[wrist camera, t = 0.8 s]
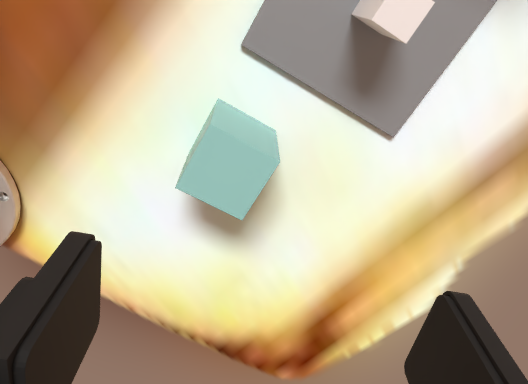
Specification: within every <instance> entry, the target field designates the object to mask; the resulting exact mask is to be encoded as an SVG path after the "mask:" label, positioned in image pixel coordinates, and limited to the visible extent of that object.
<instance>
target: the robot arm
mask: <svg viewBox="0 0 528 384" xmlns="http://www.w3.org/2000/svg"><path fill="white" fill-rule="evenodd" d="M20 209H21V206H20V198H19V193H18V190H17V187H16V184H15V182H14V180H13V178H12V176H11V175H10V173H9V171H8V169H7V168H6V167H5V166H4V164H3V163H2V162H1V161H0V246H1V245H2V244H3V243H4V242H5V241H6V240H7V239H8V238H9V237H10V236H11V235H12V233H13V232H14V230H15V229H16V226H17V224H18V221H19V218H20ZM101 250H102V245H101V242H100V241H95V236H94V235H92V234H86V233H80V232H73V231H71V232H70V233H68V235H67V236H66V237H65V239H64V240H63V241H62V242H61V244H60V245H59V246H58V248H57V249H56V250H55V251H54V253H53V254H52V255H51V257H50V258H49V259H48V261H47V262H46V263H45V264H44V266H43V267H42V268H41V270H40V271H39V272H38V274H37V275H36V276H35V277H34V278H30V277H25V278H22V279H21V280H20V281H19V282H18V283H17V284H16V286H15V287H14V288H13V289H12V290H11V292H10V293H9V294H8V295H7V297H6V298H5V299H4V300H3V302H2V303H1V304H0V384H71V383H72V381H73V379H74V377H75V375H76V373H77V371H78V369H79V366H80V364H81V362H82V360H83V358H84V356H85V354H86V352H87V350H88V348H89V345H90V343H91V341H92V339H93V337H94V335H95V333H96V330H97V327H98V324H99V318H100V285H101ZM404 368H405V375H406V377H407V380H408V383H409V384H528V381H527V379H526V378H525V376H524V375H523V373H522V372H521V370H520V369H519V367H518V366H517V364H516V363H515V361H514V360H513V358H512V357H511V355H510V354H509V352H508V351H507V350H506V348H505V347H504V345H503V344H502V342H501V341H500V339H499V338H498V336H497V335H496V333H495V332H494V330H493V329H492V327H491V326H490V324H489V323H488V322H487V320H486V318H485V317H484V316H483V314H482V313H481V311H480V310H479V308H478V307H477V305H476V304H475V302H474V301H473V299H472V298H471V297H470V296H469V295H468V294H464V293H458V292H452V291H446V292H445V293H443V295H439V296H438V297H437V298H436V300H435V302H434V304H433V306H432V308H431V310H430V312H429V314H428V316H427V318H426V320H425V322H424V324H423V326H422V328H421V330H420V332H419V334H418V336H417V338H416V340H415V343H414V344H413V346H412V348H411V351H410V353H409V355H408V356H407V358H406V361H405V365H404Z"/></svg>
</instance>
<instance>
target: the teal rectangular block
mask: <svg viewBox="0 0 528 384" xmlns="http://www.w3.org/2000/svg"><path fill="white" fill-rule="evenodd" d="M279 163H280V157H279V150H278V143H277V137H276V131H275V130H274V129H272V128H270V127H268V126H267V125H265V124H263V123H261V122H259V121H258V120H256V119H254V118H252V117H251V116H249V115H247V114H245V113H243V112H242V111H240V110H238V109H236V108H235V107H233V106H231V105H229V104H227V103H226V102H224V101H222V100H220V99H219V98H218V100H217V102H216V104H215V106H214V107H213V109H212V111H211V113H210V115H209V117H208V119H207V120H206V122H205V124H204V126H203V128H202V130H201V131H200V133H199V135H198V137H197V139H196V141H195V143H194V144H193V146H192V148H191V150H190V152H189V154H188V157H187V159H186V162H185V164H184V167H183V169H182V172H181V174H180V177H179V179H178V182H177V184H176V187H175V188H177V189H179V190H181V191H183V192H185V193H187V194H189V195H191V196H193V197H195V198H197V199H199V200H201V201H203V202H205V203H207V204H209V205H211V206H213V207H215V208H217V209H219V210H222V211H224V212H226V213H228V214H230V215H232V216H234V217H236V218H238V219H240V220H243V218H244V217H245V215H246V214H247V212H248V211H249V209H250V208H251V206H252V204H253V203H254V201H255V200H256V198H257V197H258V195H259V194H260V192H261V191H262V189H263V187H264V186H265V184H266V183H267V181H268V180H269V178H270V177H271V175H272V174H273V172H274V171H275V169H276V167H277V166H278V164H279Z"/></svg>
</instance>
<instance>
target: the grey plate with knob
mask: <svg viewBox="0 0 528 384" xmlns="http://www.w3.org/2000/svg"><path fill="white" fill-rule="evenodd" d="M496 1H497V0H265V1H264V3H263V4H262V6H261V8H260V10H259V12H258V14H257V16H256V18H255V19H254V21H253V23H252V25H251V27H250V29H249V31H248V33H247V34H246V36H245V38H244V40H243V42H242V44H241V45H242V46H244V47H246V48H247V49H249V50H250V51H252V52H254V53H255V54H257V55H259V56H260V57H262V58H264V59H265V60H267V61H269V62H270V63H272V64H274V65H275V66H277V67H278V68H280V69H282V70H283V71H285V72H287V73H288V74H290V75H292V76H293V77H295V78H297V79H298V80H300V81H301V82H303V83H305V84H306V85H308V86H310V87H311V88H313V89H315V90H316V91H318V92H320V93H321V94H323V95H325V96H326V97H328V98H329V99H331V100H333V101H334V102H336V103H338V104H339V105H341V106H343V107H344V108H346V109H348V110H349V111H351V112H353V113H354V114H356V115H357V116H359V117H361V118H362V119H364V120H366V121H367V122H369V123H371V124H372V125H374V126H376V127H377V128H379V129H380V130H382V131H384V132H385V133H387V134H389V135H390V136H392V137H394V136H395V135H396V133H397V132H398V131H399V129H400V128H401V127H402V125H403V124H404V123H405V121H406V120H407V119H408V117H409V116H410V115H411V113H412V112H413V111H414V109H415V108H416V107H417V106H418V104H419V103H420V102H421V100H422V99H423V98H424V96H425V95H426V94H427V92H428V91H429V90H430V88H431V87H432V86H433V84H434V83H435V82H436V80H437V79H438V78H439V76H440V75H441V74H442V72H443V71H444V70H445V68H446V67H447V66H448V65H449V63H450V62H451V61H452V59H453V58H454V57H455V55H456V54H457V53H458V51H459V50H460V49H461V47H462V46H463V45H464V43H465V42H466V41H467V39H468V38H469V37H470V35H471V34H472V33H473V31H474V30H475V29H476V27H477V26H478V25H479V23H480V22H481V21H482V20H483V18H484V17H485V16H486V14H487V13H488V12H489V10H490V9H491V8H492V6H493V5H494V4H495V2H496Z"/></svg>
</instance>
